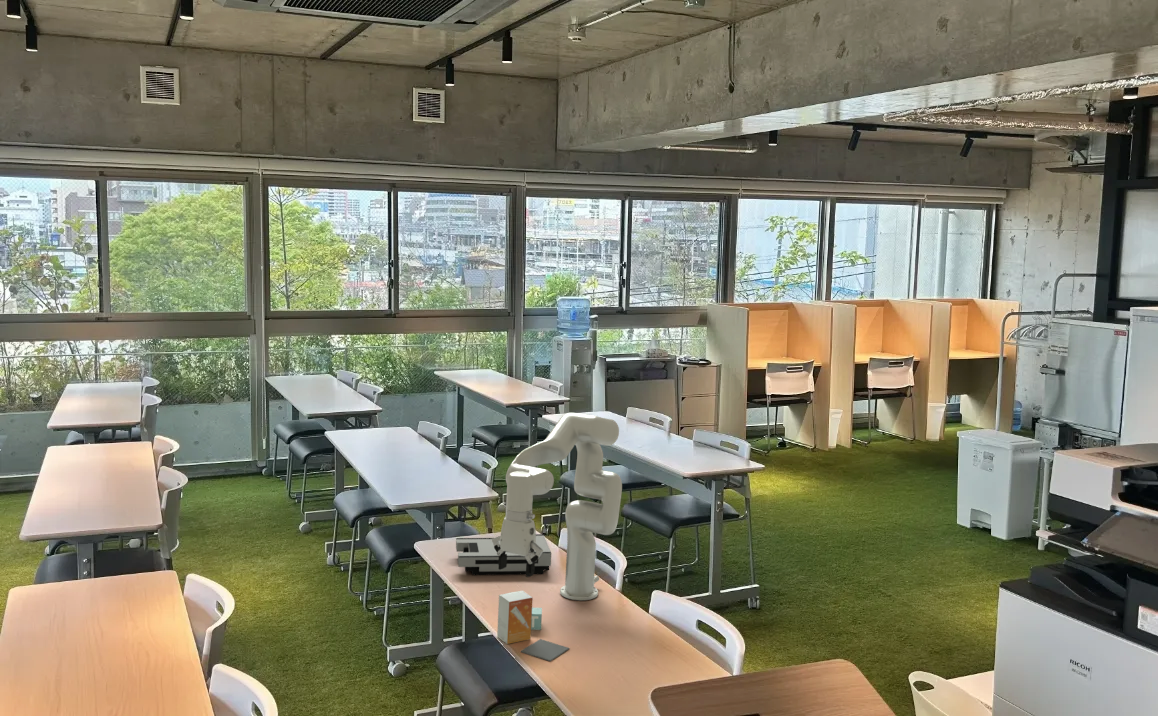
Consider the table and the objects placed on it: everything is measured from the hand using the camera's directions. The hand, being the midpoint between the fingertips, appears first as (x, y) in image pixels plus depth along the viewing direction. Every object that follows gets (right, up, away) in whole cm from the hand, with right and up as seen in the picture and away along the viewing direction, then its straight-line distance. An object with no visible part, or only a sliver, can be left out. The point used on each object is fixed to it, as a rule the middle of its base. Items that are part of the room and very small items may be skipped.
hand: (515, 572), depth 279 cm
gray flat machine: (-9, -12, +63) cm, 65 cm away
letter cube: (+4, -19, +12) cm, 23 cm away
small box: (-1, -20, +3) cm, 21 cm away
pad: (+9, -22, -4) cm, 24 cm away
